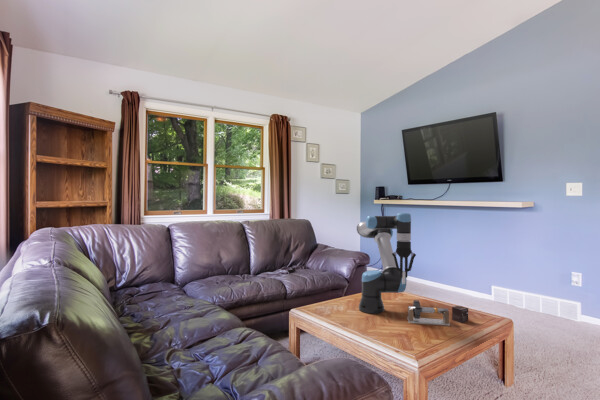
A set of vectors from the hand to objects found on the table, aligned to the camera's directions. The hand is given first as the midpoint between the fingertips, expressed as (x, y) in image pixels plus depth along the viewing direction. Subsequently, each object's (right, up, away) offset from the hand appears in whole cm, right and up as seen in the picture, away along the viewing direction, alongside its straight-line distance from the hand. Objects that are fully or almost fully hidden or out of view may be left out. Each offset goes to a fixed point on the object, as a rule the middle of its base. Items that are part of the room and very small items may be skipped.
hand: (403, 283), depth 184 cm
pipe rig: (+13, -21, -2) cm, 24 cm away
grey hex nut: (+7, -19, -1) cm, 20 cm away
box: (+31, -21, 0) cm, 38 cm away
